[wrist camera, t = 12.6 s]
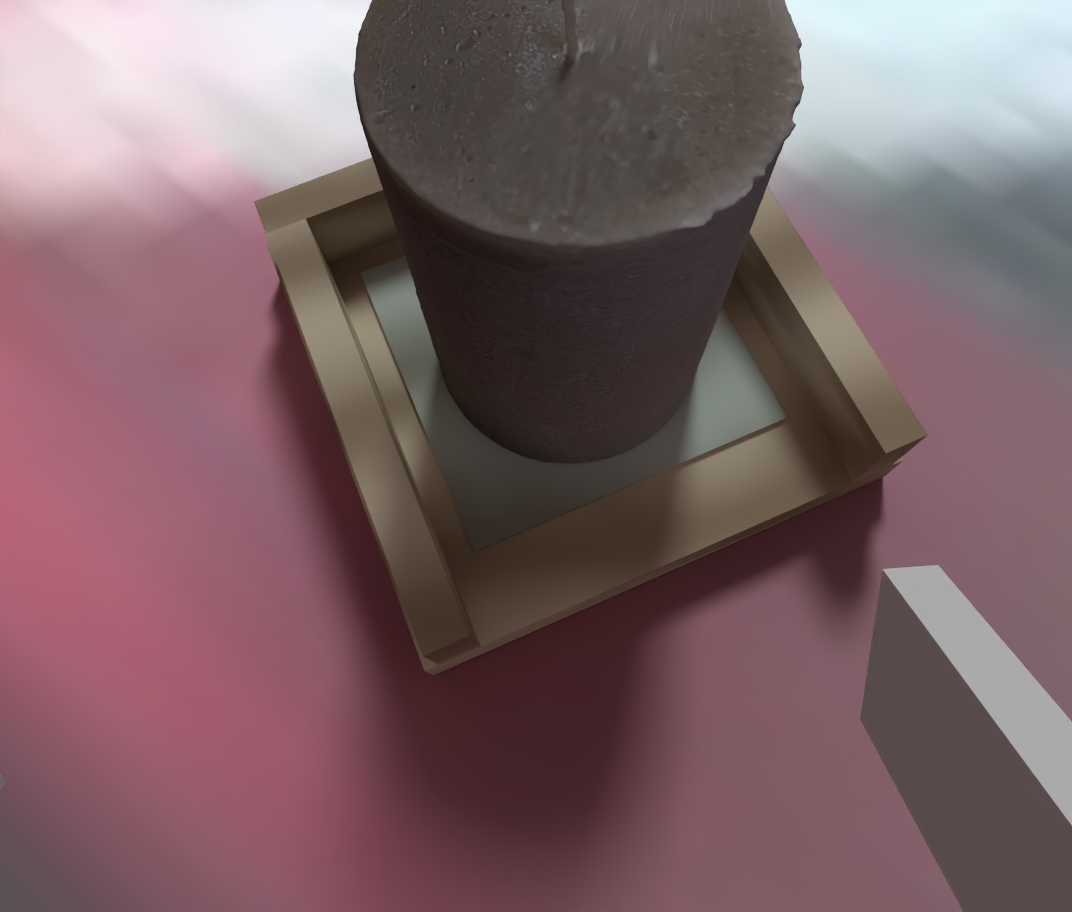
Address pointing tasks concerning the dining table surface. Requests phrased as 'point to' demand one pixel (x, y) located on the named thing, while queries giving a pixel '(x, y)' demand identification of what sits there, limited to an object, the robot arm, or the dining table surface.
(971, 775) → the robot arm
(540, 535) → the wooden tray
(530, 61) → the pillar candle
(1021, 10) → the dining table surface
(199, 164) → the dining table surface
